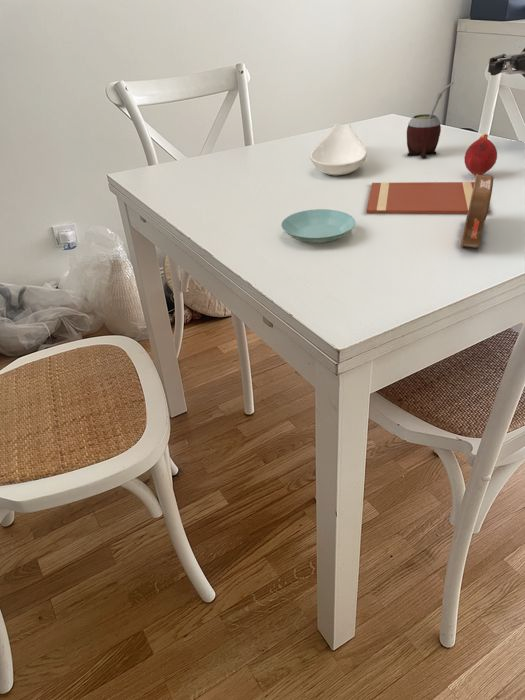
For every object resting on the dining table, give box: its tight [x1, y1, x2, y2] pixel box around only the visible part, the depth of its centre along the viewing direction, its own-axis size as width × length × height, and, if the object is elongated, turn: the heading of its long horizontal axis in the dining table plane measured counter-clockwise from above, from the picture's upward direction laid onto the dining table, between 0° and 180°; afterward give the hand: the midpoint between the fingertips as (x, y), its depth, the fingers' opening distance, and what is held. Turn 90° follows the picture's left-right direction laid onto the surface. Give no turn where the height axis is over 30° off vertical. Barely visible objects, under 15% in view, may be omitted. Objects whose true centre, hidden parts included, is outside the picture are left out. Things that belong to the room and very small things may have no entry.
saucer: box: [280, 208, 356, 244], centre depth 87 cm, size 12×12×2 cm
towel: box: [365, 181, 490, 215], centre depth 97 cm, size 20×15×1 cm
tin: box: [460, 174, 494, 249], centre depth 80 cm, size 15×3×8 cm, turn 159°
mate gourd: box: [406, 81, 454, 160], centre depth 116 cm, size 8×8×15 cm
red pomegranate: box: [464, 132, 498, 177], centre depth 103 cm, size 6×6×8 cm
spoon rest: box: [309, 123, 368, 177], centre depth 118 cm, size 24×12×7 cm, turn 170°
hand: (515, 70), depth 102 cm, fingers open, 8 cm apart
